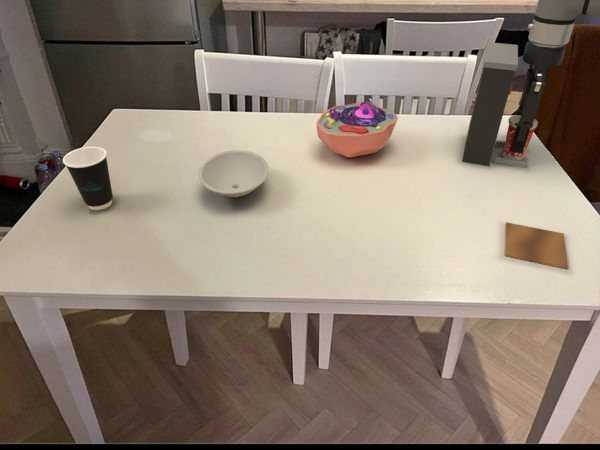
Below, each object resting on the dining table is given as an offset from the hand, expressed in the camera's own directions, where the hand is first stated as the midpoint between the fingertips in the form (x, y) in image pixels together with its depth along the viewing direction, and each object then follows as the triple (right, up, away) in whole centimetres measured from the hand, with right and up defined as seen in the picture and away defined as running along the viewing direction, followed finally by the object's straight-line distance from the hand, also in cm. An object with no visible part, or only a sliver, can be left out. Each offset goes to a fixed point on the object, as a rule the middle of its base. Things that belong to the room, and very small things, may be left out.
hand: (516, 144), depth 108 cm
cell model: (-37, -1, +5) cm, 38 cm away
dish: (-64, -12, -9) cm, 66 cm away
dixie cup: (-92, -14, -13) cm, 94 cm away
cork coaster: (-8, -22, -25) cm, 34 cm away
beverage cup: (0, -2, +2) cm, 3 cm away
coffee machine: (-4, -2, +3) cm, 5 cm away
